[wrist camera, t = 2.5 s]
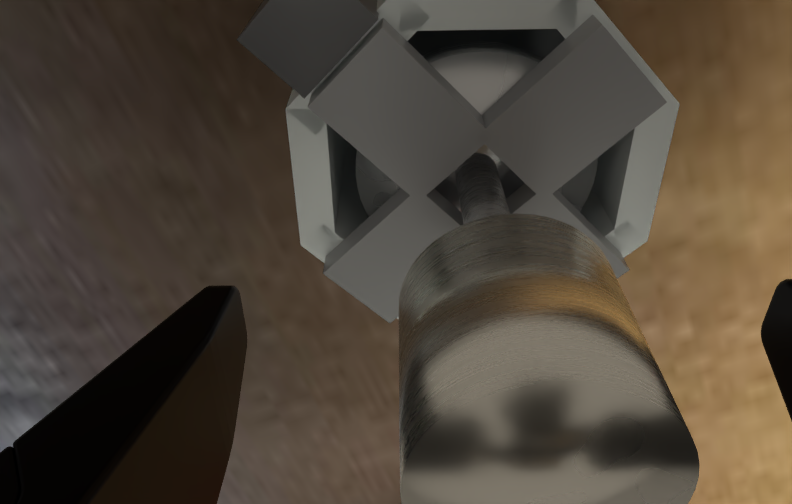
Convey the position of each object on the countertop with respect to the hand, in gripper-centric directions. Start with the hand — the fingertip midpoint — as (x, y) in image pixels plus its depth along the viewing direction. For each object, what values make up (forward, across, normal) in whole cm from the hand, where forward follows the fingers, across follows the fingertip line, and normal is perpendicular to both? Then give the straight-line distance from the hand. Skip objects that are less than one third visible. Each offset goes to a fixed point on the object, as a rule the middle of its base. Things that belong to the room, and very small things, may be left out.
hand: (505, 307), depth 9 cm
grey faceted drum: (+9, 0, 0) cm, 9 cm away
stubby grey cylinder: (+5, 0, 0) cm, 5 cm away
